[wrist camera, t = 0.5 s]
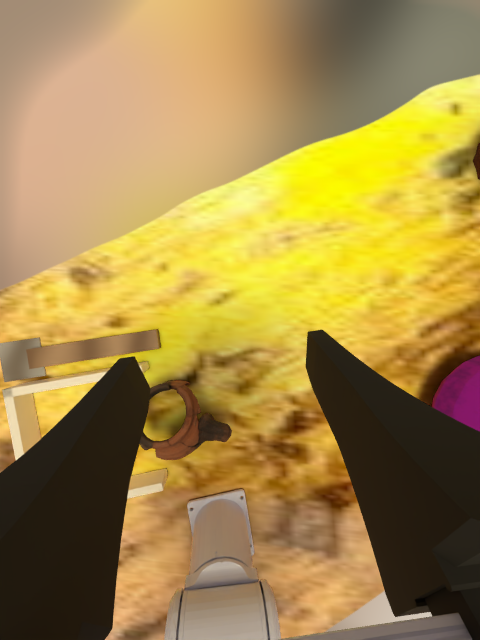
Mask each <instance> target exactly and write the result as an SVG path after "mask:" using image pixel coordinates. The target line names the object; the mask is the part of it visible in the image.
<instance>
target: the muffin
mask: <svg viewBox="0 0 480 640" xmlns="http://www.w3.org/2000/svg"><path fill="white" fill-rule="evenodd" d="M473 162H474V165H475V168H476V171H477V176H478V179H479V180H480V143H479V144H478V146H477V151H476V155H475V157H474V160H473Z"/></svg>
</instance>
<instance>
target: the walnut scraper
mask: <svg viewBox="0 0 480 640" xmlns="http://www.w3.org/2000/svg"><path fill="white" fill-rule="evenodd" d="M159 348H161V344H160V337H159V331H158V329H156V330H150V331H143V332H137V333H130V334H124V335H117V336H110V337H104V338H97V339H91V340H84V341H78V342H71V343H64V344H58V345H51V346H45V347H41V342H40V338H33V339H27V340H20V341H13V342H6V343H0V360H1V366H2V371H3V377H4V382H9V381H15V380H21V379H27V378H33V377H39V376H46V370H45V367H46V366H52V365H59V364H65V363H71V362H77V361H84V360H90V359H96V358H103V357H109V356H115V355H121V354H128V353H134V352H140V351H146V350H153V349H159Z"/></svg>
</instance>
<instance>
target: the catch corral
mask: <svg viewBox="0 0 480 640" xmlns="http://www.w3.org/2000/svg"><path fill="white" fill-rule="evenodd" d="M138 364H139V366H140V368H141V370H142V372H143V373H144V372H145V371H146V370H148V369H149V365H148V361H146V362H140V363H138ZM109 369H110V368H106V369H100V370H94V371H89V372H83V373H77V374H71V375H66V376H60V377H54V378H49V379H43V380H37V381H31V382H26V383H21V384H18V385H15V386H12V387H9V388H7V389H4V390H2V391H3V396H4V401H5V407H6V412H7V417H8V422H9V427H10V433H11V438H12V443H13V448H14V453H15V459H16V460H17V459H18V458H20V457H21V456H22V455H23V454H24V453H26V452H27V451H28V450H29V449H30V448H31V447H32V446H34V445H35V444H36V443H37V442H38V441H39V440H40V439H41V435H40V430H39V424H38V419H37V414H36V409H35V403H34V398H33V393H36V392H42V391H47V390H53V389H58V388H64V387H70V386H75V385H81V384H86V383H92V382H97V381H99V380H100V379H101V378H102V377H103V376H104V375H105V374H106V373H107V371H108V370H109ZM167 476H168V474H167V468H166V469H161V470H156V471H152V472H147V473H143V474H138V475H133V476H131V479H130V484H129V490H128V496H127V499H128V498H133V497H137V496H141V495H146V494H150V493H155V492H159V491H163V489H164V486H165V483H166V479H167Z"/></svg>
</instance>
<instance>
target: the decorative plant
mask: <svg viewBox="0 0 480 640" xmlns="http://www.w3.org/2000/svg"><path fill="white" fill-rule="evenodd" d="M432 407H433V408H435V409H436V410H438V411H440V412H442V413H444V414H446V415H448V416H450V417H452V418H453V419H455V420H457V421H459V422H461V423H463V424H465V425H467V426H469V427H471V428H473V429H475V430H477V431H480V356H477V357H475V358H472V359H470V360H468V361H465V362H463V363H462V364H461V365H459V366H458V367H457V368H455V369H454V370H453V371H452V372H451V373H450V374H449V375H448V376H447V377H446V378H445V379H443V380H442V382H441V384H440V386H439V388H438V390H437V392H436V394H435V395H434V397H433V403H432Z"/></svg>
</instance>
